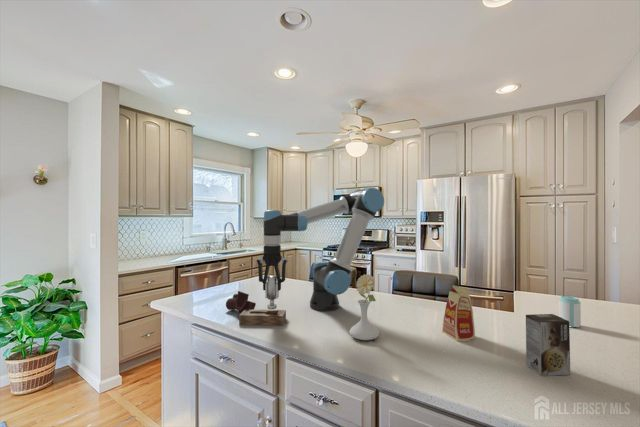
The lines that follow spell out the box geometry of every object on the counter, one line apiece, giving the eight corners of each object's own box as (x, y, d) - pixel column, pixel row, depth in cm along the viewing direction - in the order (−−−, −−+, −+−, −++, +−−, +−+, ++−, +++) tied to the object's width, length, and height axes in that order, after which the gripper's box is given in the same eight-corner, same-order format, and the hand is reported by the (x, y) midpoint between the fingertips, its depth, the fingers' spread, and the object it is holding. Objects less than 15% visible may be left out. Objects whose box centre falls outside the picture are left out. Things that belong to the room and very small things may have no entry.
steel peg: (277, 306, 131) (277, 275, 132) (275, 309, 127) (275, 277, 128) (268, 306, 132) (268, 275, 132) (266, 309, 128) (266, 277, 128)
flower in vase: (344, 333, 117) (344, 270, 117) (369, 329, 121) (369, 269, 121) (360, 347, 104) (360, 277, 105) (387, 342, 108) (387, 275, 109)
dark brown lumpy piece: (245, 311, 132) (250, 289, 137) (222, 313, 141) (228, 292, 146) (255, 314, 136) (259, 292, 141) (233, 315, 146) (237, 295, 150)
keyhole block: (285, 318, 133) (285, 309, 133) (282, 325, 125) (282, 316, 125) (244, 318, 134) (244, 309, 134) (239, 324, 126) (239, 315, 126)
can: (557, 321, 130) (557, 294, 130) (578, 324, 126) (578, 296, 127) (560, 326, 124) (560, 298, 124) (582, 329, 120) (582, 300, 120)
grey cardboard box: (553, 364, 92) (552, 313, 93) (571, 375, 86) (570, 320, 86) (524, 365, 92) (524, 313, 92) (541, 376, 86) (540, 321, 86)
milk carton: (457, 341, 109) (457, 288, 109) (441, 332, 118) (440, 282, 118) (477, 338, 112) (477, 286, 112) (459, 329, 120) (459, 281, 121)
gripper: (292, 244, 133) (292, 295, 133) (255, 243, 134) (255, 295, 134) (289, 245, 126) (289, 300, 125) (250, 245, 126) (250, 299, 126)
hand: (272, 297), depth 130 cm, fingers closed on steel peg, 4 cm apart
